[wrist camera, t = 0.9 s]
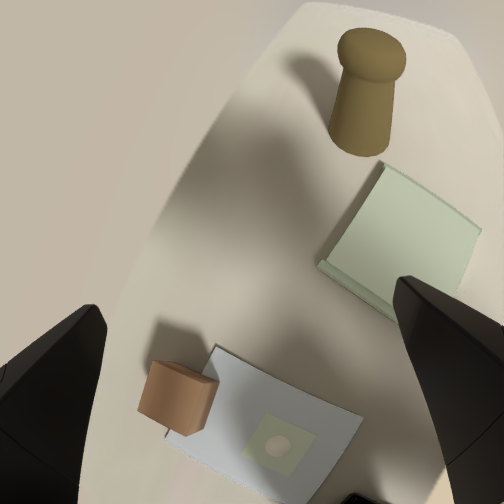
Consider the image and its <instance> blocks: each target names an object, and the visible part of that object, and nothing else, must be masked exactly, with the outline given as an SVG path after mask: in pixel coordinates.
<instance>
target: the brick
mask: <svg viewBox="0 0 504 504" xmlns="http://www.w3.org/2000/svg"><path fill="white" fill-rule="evenodd" d="M219 383H220V381H217V380H215V379H212V378H210V377H207V376H205V375H202V374H200V373H198V372H195V371H193V370H190V369H188V368H186V367H184V366H181V365H179V364H177V363H175V362H166V361H153V362H152V365H151V368H150V371H149V374H148V377H147V381H146V384H145V387H144V390H143V393H142V397H141V400H140V403H139V407H138V410H137V411H139V412H140V413H142V414H144V415H145V416H147V417H149V418H151V419H152V420H154V421H156V422H158V423H160V424H162V425H163V426H165V427H167V428H169V429H171V430H173V431H175V432H177V433H179V434H181V435H183V436H185V437H187V436H189V435H192V434H194V433H196V432H198V431H200V430H202V429H204V427H205V424H206V421H207V418H208V415H209V412H210V410H211V407H212V404H213V401H214V398H215V395H216V392H217V389H218V386H219Z"/></svg>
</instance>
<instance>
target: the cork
mask: <svg viewBox="0 0 504 504" xmlns="http://www.w3.org/2000/svg"><path fill="white" fill-rule="evenodd" d="M337 52H338V57H339V61H340V64H341V65H342V66H343V72H342V77H341V81H340V85H339V89H338V93H337V97H336V101H335V105H334V108H333V112H332V116H331V120H330V124H329V135H330V137H331V139H332V141H333V142H334V143H335V144H336V145H337V146H338V147H339V148H341V149H342V150H344V151H345V152H347V153H350V154H353V155H356V156H363V157H370V156H375V155H378V154H380V153H382V152H384V150H385V149H386V148H387V147H388V144H389V140H390V132H391V123H392V113H393V101H394V87H395V80H397V79H398V78H399V77H400V76H401V75H402V73H403V72H404V69H405V65H406V53H405V51H404V49H403V47H402V45H401V43H400V42H399V41H398V40H397V39H395V38H394V37H392V36H391V35H389V34H387V33H385V32H383V31H380V30H376V29H372V28H355V29H351V30H348V31H347V32H345V33H344V34H343V35H342V36H341V38H340V40H339V43H338V48H337Z"/></svg>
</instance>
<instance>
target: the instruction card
mask: <svg viewBox="0 0 504 504" xmlns="http://www.w3.org/2000/svg"><path fill="white" fill-rule="evenodd" d="M201 374H202V375H205V376H207V377H210V378H212V379H215V380H217V381H220V383H219V386H218V389H217V392H216V395H215V398H214V401H213V404H212V407H211V410H210V412H209V415H208V418H207V421H206V424H205V427H204V429H202V430H200V431H198V432H196V433H194V434H192V435H189V436H187V437H185V436H183V435H181V434H179V433H177V432H175V431H173V430H171V429H170V431H169V433H168V434H167V436H166V438H165V441H167V442H168V443H169V444H171V445H172V446H174V447H175V448H177V449H179V450H180V451H182V452H183V453H185V454H186V455H188V456H190V457H191V458H193V459H195V460H196V461H198V462H200V463H201V464H203V465H205V466H206V467H208V468H210V469H212V470H213V471H215V472H217V473H219V474H221V475H223V476H225V477H226V478H228V479H230V480H232V481H234V482H236V483H238V484H240V485H242V486H244V487H246V488H249V489H251V490H253V491H255V492H257V493H259V494H262V495H264V496H266V497H269V498H271V499H273V500H276V501H278V502H281V503H283V504H306V503H307V502H308V501H309V500H310V498H311V497H312V496H313V495H314V493H315V492H316V491H317V489H318V488H319V487H320V485H321V484H322V483H323V481H324V480H325V478H326V477H327V476H328V474H329V473H330V471H331V470H332V469H333V467H334V466H335V464H336V463H337V461H338V460H339V458H340V457H341V455H342V454H343V452H344V451H345V449H346V447H347V446H348V444H349V443H350V441H351V439H352V438H353V436H354V434H355V433H356V431H357V429H358V428H359V426H360V424H361V423H362V421H363V419H364V417H362V416H359V415H357V414H354V413H352V412H349V411H347V410H345V409H342V408H340V407H337V406H335V405H333V404H330V403H328V402H326V401H324V400H321V399H319V398H317V397H315V396H312V395H310V394H308V393H306V392H304V391H302V390H299V389H297V388H295V387H293V386H291V385H289V384H287V383H285V382H283V381H281V380H279V379H277V378H275V377H273V376H271V375H269V374H267V373H265V372H263V371H261V370H259V369H257V368H255V367H253V366H251V365H249V364H248V363H246V362H244V361H242V360H240V359H238V358H236V357H235V356H233V355H231V354H229V353H227V352H226V351H224V350H222V349H220V348H219V347H215V349H214V351H213V353H212V355H211V357H210V359H209V360H208V362H207V364H206V366H205V368H204V369H203V371H202V373H201Z"/></svg>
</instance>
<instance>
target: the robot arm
mask: <svg viewBox="0 0 504 504" xmlns="http://www.w3.org/2000/svg"><path fill="white" fill-rule="evenodd" d="M392 303H393V308H394V311H395V314H396V317H397V321H398V324H399V327H400V330H401V334H402V337H403V340H404V344H405V347H406V350H407V352H408V355H409V357H410V360H411V362H412V365H413V367H414V370H415V373H416V375H417V378H418V380H419V383H420V386H421V388H422V391H423V394H424V397H425V400H426V402H427V405H428V408H429V411H430V414H431V417H432V420H433V423H434V426H435V430H436V433H437V436H438V439H439V443H440V446H441V450H442V453H443V457H444V460H445V464H446V469H447V473H448V477H449V481H450V485H451V489H452V494H453V499H454V503H455V504H504V326H503V325H502V326H501V325H500V324H499V323H497V322H496V321H494V320H492V319H491V318H489V317H487V316H485V315H484V314H482V313H480V312H478V311H477V310H475V309H473V308H471V307H469V306H468V305H466V304H464V303H462V302H460V301H459V300H457V299H455V298H453V297H451V296H449V295H448V294H446V293H444V292H442V291H440V290H438V289H436V288H434V287H433V286H431V285H429V284H427V283H425V282H423V281H421V280H419V279H417V278H415V277H413V276H411V275H406V276H400V277H398V279H397V281H396V285H395V290H394V295H393V300H392ZM106 336H107V324H106V322H105V320H104V318H103V316H102V314H101V312H100V310H99V308H98V306H96V305H94V304H87V305H83V306H82V307H81V308H79V309H78V310H77V311H75V312H74V313H72V314H71V315H69V316H68V317H67V318H65V319H64V320H62V321H61V322H60V323H58V324H57V325H56V326H54V327H53V328H52V329H50V330H49V331H48V332H46V333H45V334H44V335H42V336H41V337H40V338H38V339H37V340H36V341H34V342H33V343H32V344H30V345H29V346H28V347H26V348H25V349H24V350H23V351H21V352H20V353H19V354H17V355H16V356H15V357H14V358H12V359H11V360H10V361H9V362H8V363H7V364H5V365H3V366H2V367H1V368H0V504H77V503H78V492H79V482H80V474H81V466H82V459H83V453H84V447H85V441H86V435H87V430H88V425H89V420H90V415H91V410H92V405H93V401H94V397H95V392H96V388H97V384H98V380H99V376H100V371H101V366H102V359H103V353H104V347H105V342H106ZM355 497H356V498H357V499H355V500H352V498H355ZM341 504H379V503H377V502H375V501H373V500H371V499H369V498H367V497H365V496H363V495H361V494H359V493H352V494H350V495H349V496H348V497H347V498H346V499H345V500H344V501H343V502H342V503H341Z"/></svg>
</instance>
